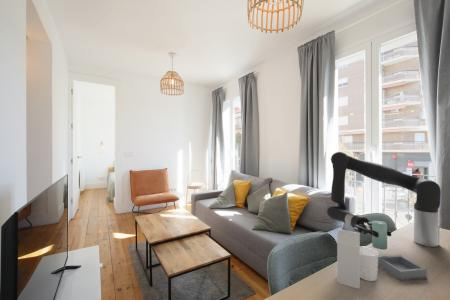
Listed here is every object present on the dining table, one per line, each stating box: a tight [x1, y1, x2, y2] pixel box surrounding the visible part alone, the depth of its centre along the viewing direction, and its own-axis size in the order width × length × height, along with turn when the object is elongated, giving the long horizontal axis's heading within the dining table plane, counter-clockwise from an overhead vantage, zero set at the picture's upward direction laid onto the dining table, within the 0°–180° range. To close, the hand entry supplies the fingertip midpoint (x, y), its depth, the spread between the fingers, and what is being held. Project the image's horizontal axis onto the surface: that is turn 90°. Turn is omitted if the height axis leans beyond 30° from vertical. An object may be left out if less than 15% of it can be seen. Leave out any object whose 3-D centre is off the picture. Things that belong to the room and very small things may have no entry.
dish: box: [378, 254, 428, 282], centre depth 88 cm, size 11×11×4 cm
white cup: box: [360, 245, 380, 282], centre depth 85 cm, size 8×8×10 cm
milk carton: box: [336, 229, 361, 290], centre depth 82 cm, size 7×7×19 cm
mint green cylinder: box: [371, 220, 388, 251], centre depth 99 cm, size 6×6×11 cm
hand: (384, 234), depth 96 cm, fingers closed on mint green cylinder, 5 cm apart
